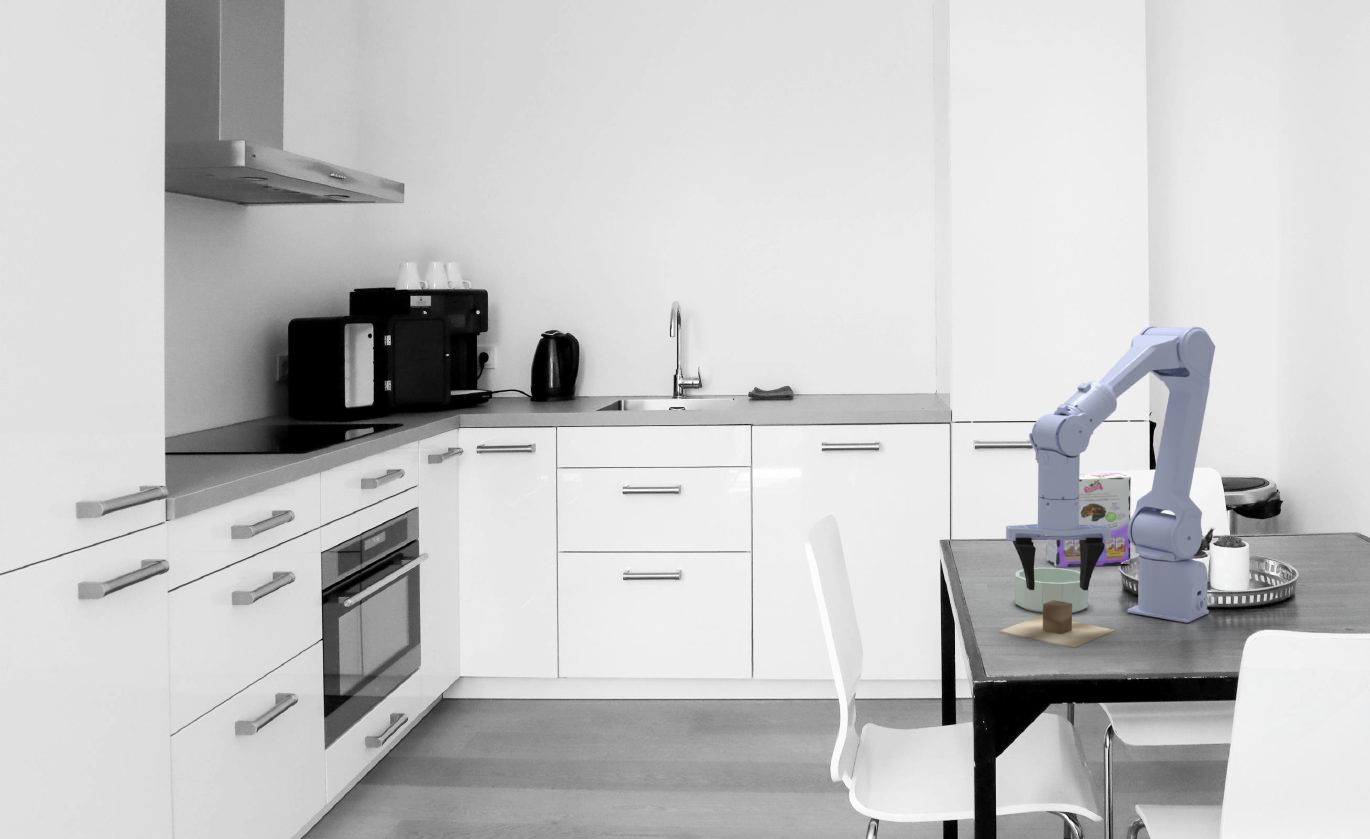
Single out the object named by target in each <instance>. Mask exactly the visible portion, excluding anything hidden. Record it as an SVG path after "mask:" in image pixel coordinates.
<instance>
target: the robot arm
mask: <svg viewBox="0 0 1370 839" xmlns="http://www.w3.org/2000/svg"><path fill="white" fill-rule="evenodd" d="M1215 351H1216V344H1215V343H1214V341H1213V339H1211V336H1210V335H1209V332H1207V331H1206V330H1205V329H1204V328H1202V327H1201V326H1191V327H1157V326H1152V325H1151V326H1150V325H1149V326H1148V327H1145V328H1143V329H1142V330H1141V331H1140V332H1139V334H1138V335H1135V336H1134V337H1132V339H1131V344H1130V348H1129V349H1128V351H1126V352H1125V354H1124V355H1123V356H1122V357H1121V358H1120V359H1119V360H1118V361H1117V362H1116V363H1115V364H1114V365H1113V367H1111V368H1110V369H1109V371H1108V372H1106V374H1105V375H1104V376H1103V377H1102V378H1101V380H1100V381H1088V382H1082V383H1080V385H1078V386H1077V391H1076V392H1075V393H1073V395H1072V396H1070V397H1069V398H1068V399H1067V400H1066V401H1065V402H1064V403H1061V404H1060V405H1059V406H1057V407H1056V410H1055V411H1054V412H1053V413H1049V414H1048V413H1047V414H1044V415H1042V416H1041V417H1039V418H1038V419H1037V420H1036V421H1035V422H1034V424H1033V426H1032V429H1031V432H1030V433H1029V434H1028V435H1029V436H1028V437H1029V441H1030V445H1031V446H1032V448H1033V451H1034V452H1035V461H1036V463H1037V466H1038V470H1037V523H1033V524H1032V523H1031V524H1030V523H1029V524H1017V525H1006V526H1005V539H1006V540H1007V541H1009V542H1012V544H1013V546H1014V548H1015V550H1016V552H1017V555H1018V557H1019V560H1020V563H1021V566H1022V570H1023V569H1024V573H1025V578H1026V584H1027V588H1028V589H1029V590H1034V587H1035V579H1034V568H1035V561H1036V560H1035V559H1036V558H1035V557H1036V551H1037V548H1036V547H1035V546H1034V541H1047V540H1079V544H1080V559H1081V566H1080V569H1079V570H1080V571H1079V572H1080V588H1081V589H1083V590H1088V591H1089V587H1090V582H1091V578H1092V577H1093V576H1092V575H1093V572H1094V570H1095V567H1096V566H1095V565H1096V563H1097V561H1098V559H1099V557H1100V556H1101V554H1102V552H1103V551H1104V547H1105V544H1104V543H1103V541H1111V528H1110V527H1108V526H1099V525H1081V524H1079V474H1080V467H1081V466H1080V460H1081V459H1080V458H1081V457H1080V455H1081V453H1083V452H1085V451H1086V450H1087V449H1088V447H1089V444H1090V439H1091V437H1092V436H1093V434H1094V432H1095V430H1096V429H1097V428H1098V427H1099V426H1100V425H1101V424H1102V423H1103V422H1105V421H1106V420H1107V419H1108V418H1109V416H1112V414H1113V413H1114V412H1116V410H1117V407H1118V406H1117V405H1118V401H1117V399H1118V398H1119V397H1120V396H1121V395H1123V394H1124V393H1125V392H1127V390H1129V389H1131V387H1133V386H1134V385H1135V384H1136V383H1138V382H1139V381H1140V380H1142V379H1143V378H1144V377H1145V376H1146V375H1147V374H1149V373H1151V374H1153V375H1154V376H1155V377H1156V378H1157V379H1159V380H1160V381H1161V382H1163V384H1164V385H1165V387H1167V389H1168V391H1169V394H1168V399H1167V404H1166V411H1165V415H1164V419H1163V420H1164V421H1163V426H1162V430H1161V431H1162V432H1161V436H1160V437H1161V438H1160V442H1159V447H1158V452H1157V453H1158V454H1157V460H1156V463H1155V469H1154V470H1155V471H1154V475H1153V481H1152V486H1151V490H1150V491H1148V492H1147V493H1146V494H1145V495H1143V496H1142V497H1140V498H1139V499H1138V500H1137V501H1136V506H1135V510H1134V513H1133V514H1132V515H1131V516H1130V521H1129V524H1128V537H1129V540H1130V544H1132V546H1134V547H1135V553H1136V554H1138V586H1137V587H1138V588H1137V589H1138V593H1137V595H1138V597H1137V603H1138V604H1137V605H1134V606H1132V607H1130V608H1128V609H1126V611H1127V613H1130V614H1136V615H1142V616H1146V617H1152V618H1158V619H1164V620H1170V621H1175V622H1182V623H1190V622H1192V621H1195V620H1197V619H1198V618H1201V617H1203V616H1205V615H1207V614H1209V612H1210V611H1209V609H1208V568H1207V566H1206V564H1205V562H1203V561H1199V560H1195V559H1194V555H1196V554H1197V552H1198V551H1199V550H1200V547H1201V544H1202V543H1203V542H1202V541H1203V529H1202V518H1203V512H1202V510H1201V508H1200V507H1199V506H1197V505H1196V503H1195V502H1194V501H1193V500H1192V499H1191V497H1190V495H1191V489H1192V482H1193V478H1194V472H1195V469H1196V468H1195V467H1196V462H1197V456H1198V450H1199V446H1200V440H1201V436H1202V435H1201V434H1202V428H1203V424H1204V418H1205V414H1206V407H1207V403H1208V402H1207V401H1208V396H1209V392H1210V384H1211V383H1210V382H1211V379H1210V377H1211V373H1212V368H1213V361H1214V356H1215ZM1164 511H1170V512H1172V513H1173V514H1170V513H1165V512H1164ZM1047 535H1050V536H1047Z"/></svg>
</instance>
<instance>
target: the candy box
mask: <svg viewBox="0 0 1370 839" xmlns="http://www.w3.org/2000/svg"><path fill="white" fill-rule="evenodd" d="M1131 480H1132V478H1131V476H1128V475H1125V474H1122V473H1118V472H1116V473H1115V472H1114V473H1113V472H1111V473H1110V472H1109V473H1083V474H1082V473H1081V474H1080V473H1079V524H1081V525H1099V526H1108V527H1110V528H1111V541H1103V543H1104V544H1105V547H1104V551H1103V552H1102V554H1101V556H1100V557H1099V559H1098V561H1097V563H1096V565H1095V567H1098V566H1099V567H1101V566H1120V565H1119V564H1121V563H1122V562H1124V561H1126V560H1129V559H1130V560H1131V542H1130V540H1129V537H1128V524H1129V521H1130V519H1131V484H1132V482H1131ZM1046 536H1050V535H1046ZM1045 560H1046V561H1047V562H1048V563H1050V565H1052V566H1053V567H1054V568H1073V567H1074V568H1076V567H1078V568H1079V567H1081V559H1080V544H1079V540H1046V559H1045Z"/></svg>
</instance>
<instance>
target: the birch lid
mask: <svg viewBox="0 0 1370 839" xmlns="http://www.w3.org/2000/svg"><path fill="white" fill-rule="evenodd" d="M1114 632H1116V629H1113V628H1107V627H1102V626H1098V625H1093V624H1087V623H1081V622H1077V621H1073V613H1072V603H1067V602H1061V601H1056V600H1052V601H1050V602H1047V603H1044V604H1043V613H1042V614H1041V615H1038V616H1036V617H1035V616H1034V617H1033V618H1030V619H1027V620H1025V621H1021V622H1019V623H1016V624H1014V625H1011V626H1007V627H1006V628H1005V627H1004V628H1002V629H1000V630H998V633H1000V634H1005V635H1006V634H1007V635H1011V636H1016V637H1018V638H1019V637H1020V638H1025V639H1029V640H1033V641H1034V640H1035V641H1038V642H1044V643H1048V644H1053V645H1054V644H1055V645H1057V646H1063V647H1067V648H1070V649H1071V648H1072V649H1077V648H1079V647H1080V646H1084V645H1086V644H1088V643H1090V642H1092V641H1095V640H1097V639H1101V637H1104V636H1107V635H1109V634H1111V633H1114Z"/></svg>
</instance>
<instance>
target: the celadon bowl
mask: <svg viewBox="0 0 1370 839" xmlns="http://www.w3.org/2000/svg"><path fill="white" fill-rule="evenodd" d="M1034 579H1035V587H1034V590H1029V589H1028V588H1027V584H1026V578H1025V573H1024V569H1023V568H1022V569H1020V570H1017V571H1015V585H1014V586H1015V591H1014V592H1015V595H1014V596H1015V599H1014V600H1015V605H1017V606H1019V607H1020V608H1023V609H1024V610H1028V611H1030V612H1031V611H1032V612H1037V613H1042V614H1043V604H1044V603H1047V602H1050V601H1052V600H1056V601H1061V602H1067V603H1072V614H1073V613H1078V612H1081V611H1083V610H1084V609H1087V608H1089V589H1088V590H1083V589H1081V588H1080V571H1078V570H1074V569H1067V568H1063V567H1034Z"/></svg>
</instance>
